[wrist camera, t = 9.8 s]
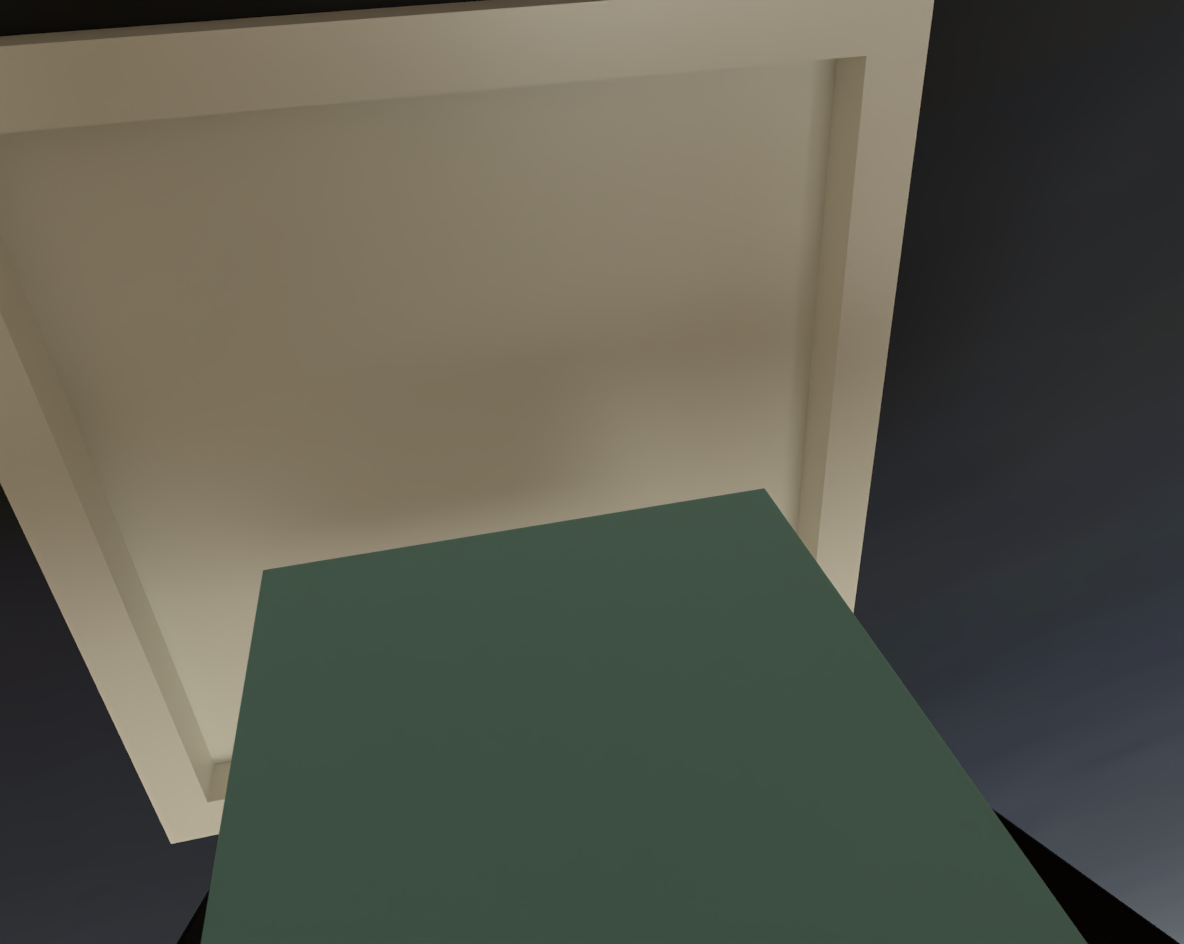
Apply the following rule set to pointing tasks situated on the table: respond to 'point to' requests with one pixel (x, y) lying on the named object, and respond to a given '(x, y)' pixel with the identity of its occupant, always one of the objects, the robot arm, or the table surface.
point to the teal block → (598, 753)
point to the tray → (428, 301)
